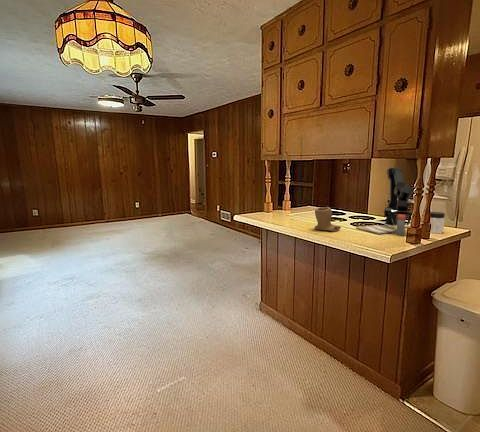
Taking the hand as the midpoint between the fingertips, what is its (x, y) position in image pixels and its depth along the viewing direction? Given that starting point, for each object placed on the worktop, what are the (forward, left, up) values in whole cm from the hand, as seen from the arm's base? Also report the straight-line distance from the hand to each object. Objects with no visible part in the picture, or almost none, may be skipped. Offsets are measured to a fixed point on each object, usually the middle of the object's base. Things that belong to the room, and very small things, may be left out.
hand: (400, 224), depth 173 cm
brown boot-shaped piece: (+30, -30, -7) cm, 43 cm away
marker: (-1, -1, -7) cm, 7 cm away
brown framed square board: (0, -16, -7) cm, 17 cm away
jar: (-27, +2, -7) cm, 28 cm away
